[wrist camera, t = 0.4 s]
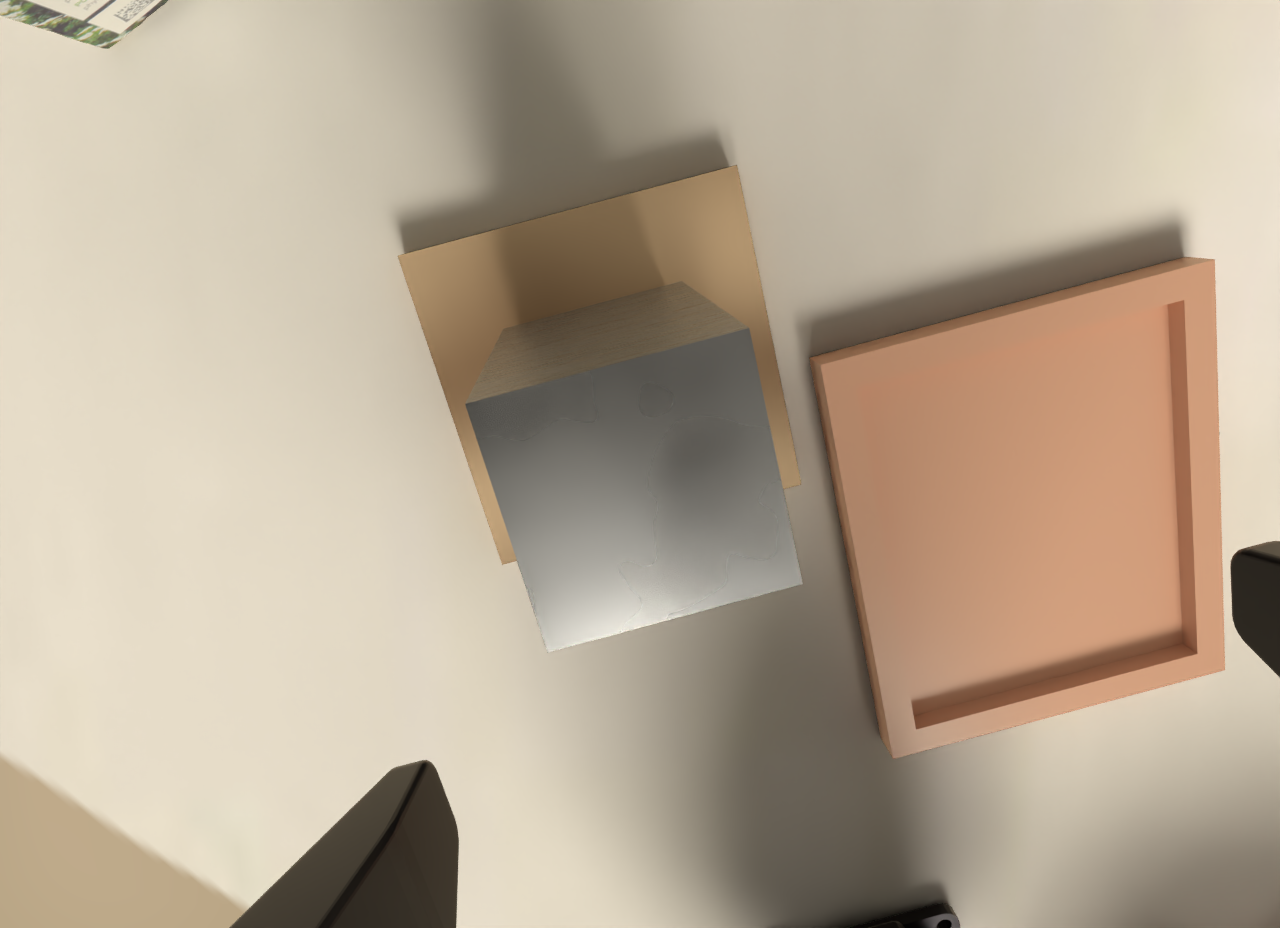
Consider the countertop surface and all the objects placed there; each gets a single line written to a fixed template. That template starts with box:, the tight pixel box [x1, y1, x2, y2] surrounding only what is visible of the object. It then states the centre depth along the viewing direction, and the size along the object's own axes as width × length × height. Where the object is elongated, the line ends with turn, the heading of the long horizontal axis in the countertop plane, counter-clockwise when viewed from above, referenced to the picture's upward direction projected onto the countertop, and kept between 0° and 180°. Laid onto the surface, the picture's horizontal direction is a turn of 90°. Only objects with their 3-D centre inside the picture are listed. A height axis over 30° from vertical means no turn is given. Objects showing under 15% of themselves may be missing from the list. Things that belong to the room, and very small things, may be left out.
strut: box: [465, 281, 803, 652], centre depth 15 cm, size 4×4×7 cm
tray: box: [809, 257, 1225, 759], centre depth 22 cm, size 12×10×1 cm
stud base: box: [398, 165, 801, 565], centre depth 20 cm, size 8×8×2 cm
